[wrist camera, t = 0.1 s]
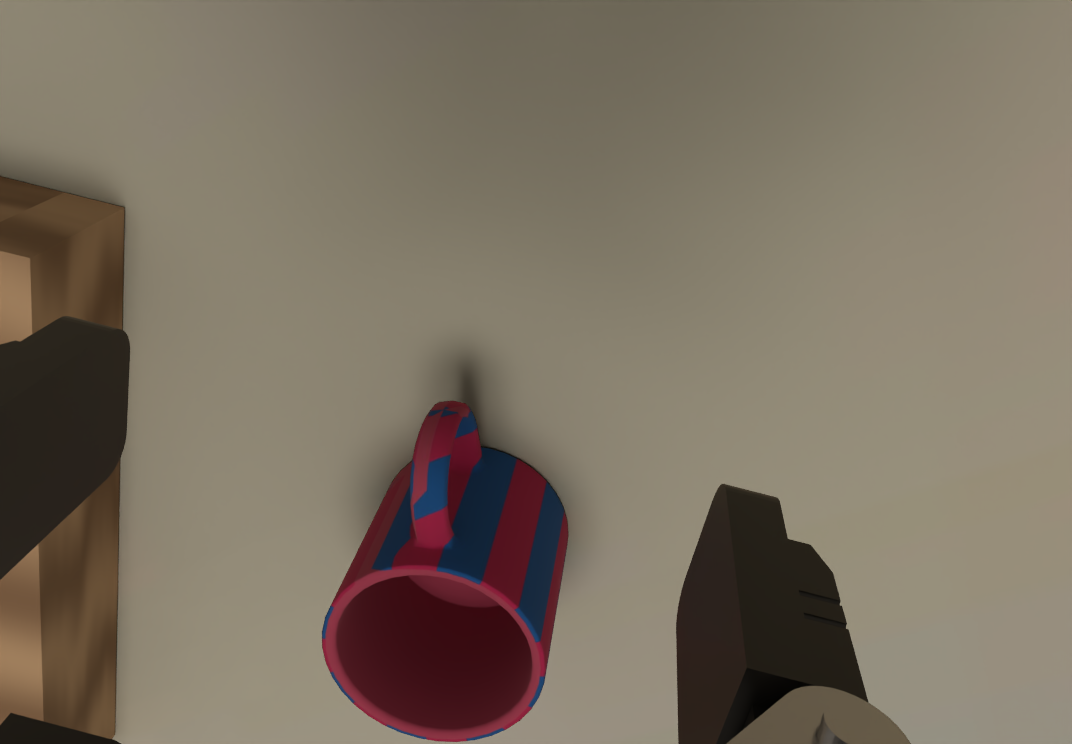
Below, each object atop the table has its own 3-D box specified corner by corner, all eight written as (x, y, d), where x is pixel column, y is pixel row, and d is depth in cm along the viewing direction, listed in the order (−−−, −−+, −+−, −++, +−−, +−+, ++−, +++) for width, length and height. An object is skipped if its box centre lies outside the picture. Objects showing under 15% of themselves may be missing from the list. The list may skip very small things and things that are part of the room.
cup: (380, 583, 36) (319, 720, 30) (392, 342, 31) (324, 445, 25) (556, 614, 35) (532, 760, 29) (594, 374, 31) (574, 488, 25)
